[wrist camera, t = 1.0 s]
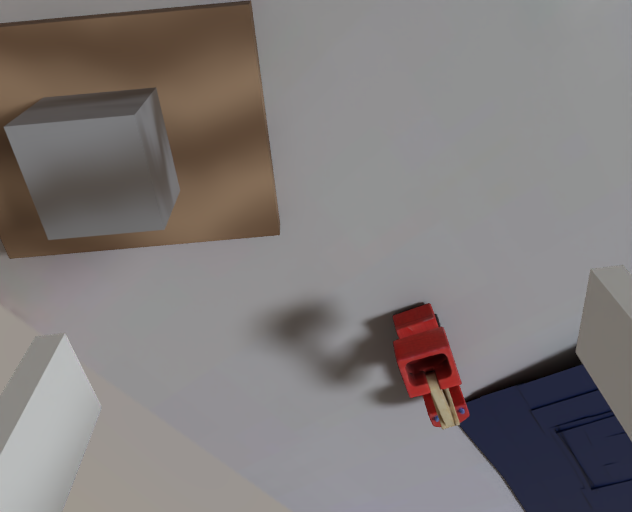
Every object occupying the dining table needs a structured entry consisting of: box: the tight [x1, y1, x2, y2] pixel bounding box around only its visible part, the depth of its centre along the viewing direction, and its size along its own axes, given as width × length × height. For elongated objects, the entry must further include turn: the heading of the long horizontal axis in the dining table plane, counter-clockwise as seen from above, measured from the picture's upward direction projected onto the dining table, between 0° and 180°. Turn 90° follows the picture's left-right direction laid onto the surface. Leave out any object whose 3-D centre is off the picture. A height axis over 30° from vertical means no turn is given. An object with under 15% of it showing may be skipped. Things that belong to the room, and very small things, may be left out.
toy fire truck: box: [393, 303, 469, 429], centre depth 39 cm, size 3×14×10 cm, turn 21°
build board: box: [0, 1, 280, 259], centre depth 31 cm, size 14×18×6 cm
